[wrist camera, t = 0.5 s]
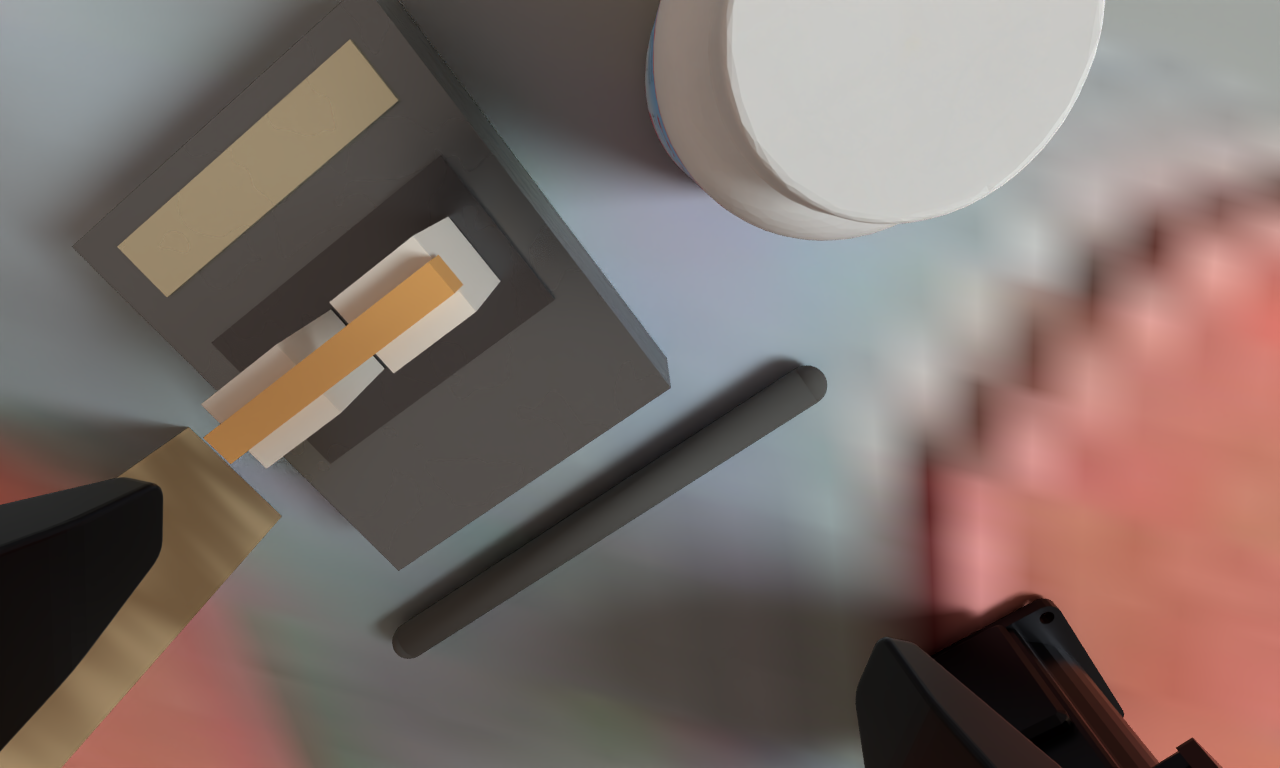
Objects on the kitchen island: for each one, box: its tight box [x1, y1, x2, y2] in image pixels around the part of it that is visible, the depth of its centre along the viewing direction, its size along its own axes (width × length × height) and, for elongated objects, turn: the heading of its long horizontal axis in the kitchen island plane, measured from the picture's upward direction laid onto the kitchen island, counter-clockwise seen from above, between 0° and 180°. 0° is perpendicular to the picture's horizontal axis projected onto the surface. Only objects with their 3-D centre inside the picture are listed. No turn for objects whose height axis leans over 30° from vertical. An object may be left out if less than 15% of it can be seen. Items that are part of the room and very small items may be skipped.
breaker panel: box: [72, 0, 671, 571], centre depth 20 cm, size 12×10×3 cm
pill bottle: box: [645, 0, 1105, 241], centre depth 14 cm, size 6×6×11 cm
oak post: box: [0, 427, 282, 768], centre depth 18 cm, size 4×4×11 cm
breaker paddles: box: [201, 217, 500, 469], centre depth 17 cm, size 2×7×4 cm, turn 126°
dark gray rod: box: [392, 366, 827, 659], centre depth 23 cm, size 1×17×1 cm, turn 126°
